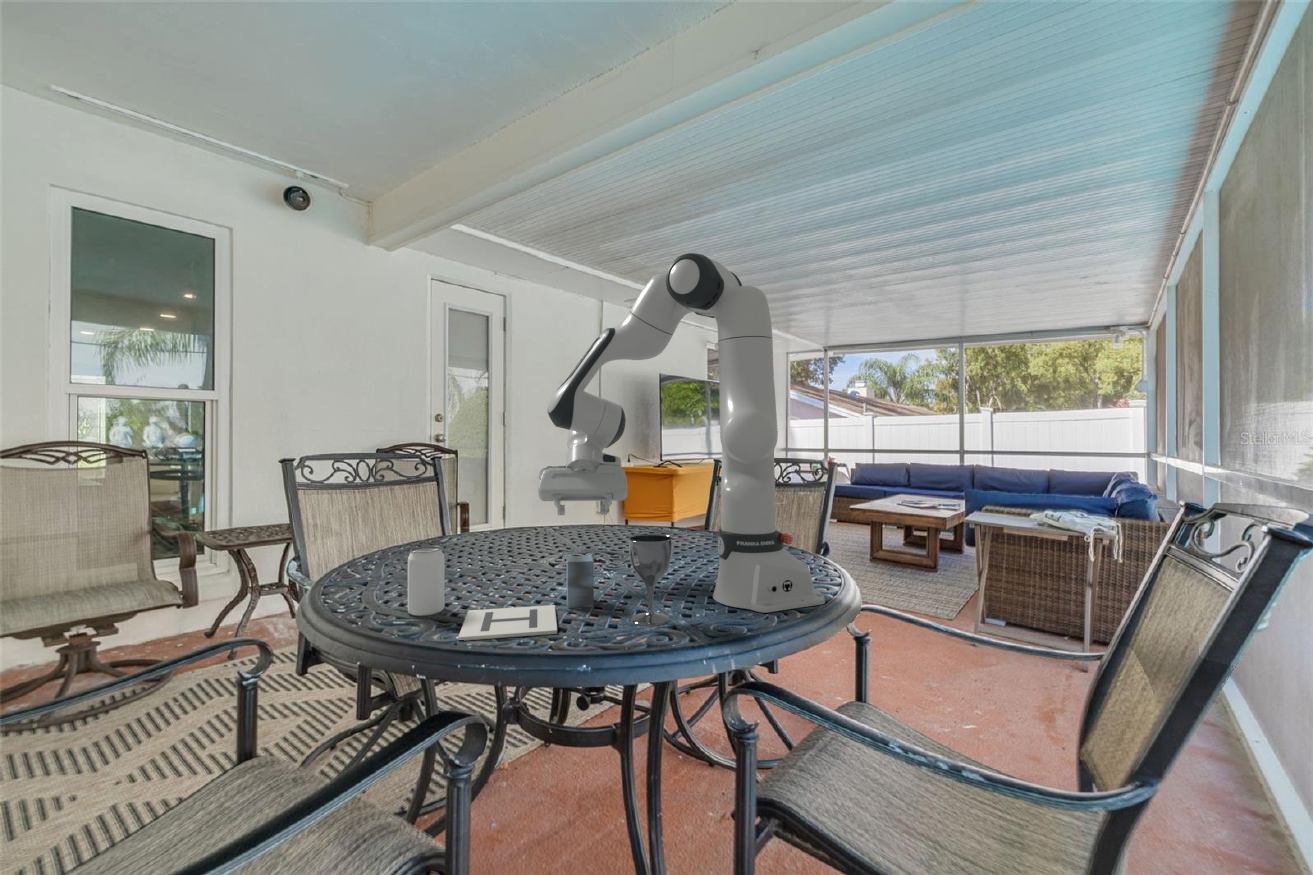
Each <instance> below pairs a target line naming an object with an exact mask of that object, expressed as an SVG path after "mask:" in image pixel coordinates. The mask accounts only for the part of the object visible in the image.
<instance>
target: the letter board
mask: <svg viewBox="0 0 1313 875" xmlns="http://www.w3.org/2000/svg"><path fill="white" fill-rule="evenodd" d="M556 615H557V614H556V605H555V604H550V605H547V604H546V605H534V606H532V605H531V606H517V607H515V606H514V607H503V608H487V609H485V608H484V609H472V610H471V609H470V610H467V613H466V616H465V618H464V620H463V623H462V626H461V629H460V632H459V634H458V637H457V641H458V640H464V641H476V640H487V639H488V640H489V639H500V638H501V639H504V638H514V637H515V638H516V637H527V636H528V637H529V636H543V635H556V634H558V625H557V616H556Z"/></svg>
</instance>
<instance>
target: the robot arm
mask: <svg viewBox="0 0 1313 875" xmlns="http://www.w3.org/2000/svg"><path fill="white" fill-rule="evenodd" d="M766 296H767V295H766V294H765V293H764V291H762V290H761V289H760V288H758V287H755V286H751V285H743V283H742V282H741V280H740V278H739V277H738V276H737V275H736V274H735V273H734V272H732V271H730V270H729V269H727V268H726V267H725V266H724V265H723V264H722V263H720V262H718V261H716V260H714V259H711V258H709V257H707V256H706V255H704V254H702V253H695V252H689V253H684V254H681V255H680V256H677V257H676V258H675V259H674V260H673V261H672V262H671V263H670V265H669V267H668V268H667V271H666V273H658V274H655V275H653V276H652V277H651V278H650V279H649V280H648V281H647V283H646V284H645V285H644V287H643V288H642V290H641V292H640V293H639V294H638V296H637V298H636V299H635V301H634V303H633V304H632V307H631V308H630V310H629V312H628V314H627V315H626V316H625V318H624V319H623V320H622V321H621V322H619V324H617V325H616V326H613V327H607V328H605V329H604V330H603V331H602V332H601V333H600V334H599V335H598V336H597V338H596V339H595V340H594V341H593V342H592V344H591V345H590V347H589V348H588V349H587V351H586V352H585V354H584V355H583V356H582V358H580V360H579V362H577V364H576V365H575V367H574V369H573V370H572V371H571V372H570V374H569V376H568V377H567V378H566V379H565V380H564V382H562V384H561V385H560V386H559V387H558V388H557V389H556V391H555V392H554V393H553V395H552V396H551V397H550V400H549V402H548V407H547V414H548V416H549V419H550V421H551V422H552V425H554V426H555V427H557V428H560V429H564V430H568V434H567V448H568V449H567V452H566V458H565V460H566V461H565V465H558V466H557V465H556V466H552V465H547V466H546V467H543V468H542V469H540V471H539V474H538V478H539V484H538V489H537V490H538V497H539V499H540V500H541V501H542V502H553V505H554V506H555V507H556V509H557V515H558V516H565V515H566V514H565V513H566V508H565V506H566V505H565V504H561V502H595V501H596V502H598V501H601V502H604V501H605V503H603V504H600V516H601V515H602V516H603V515H604V516H607V515H608V510H609V508H610V507H611V505H612V504H613V501H618V502H619V501H625V500H626V499H627V498H628V480H627V476H626V475H627V474H626V471H625V469H624V468H623V467H622V460H621V457H620V456H617V455H613V454H610V453H609V454H608V453H605V452H603V451H604V449H608V448H609V447H611V446H613V445H614V444H616V443H617V442H619V440H620V439H621V437H622V436H623V435H624V432H625V428H626V415H625V411H624V409H623V407H622V406H621V405H620V404H618V403H616V402H612V401H610V400H609V399H606V398H602V397H599V396H597V395H594V394H592V393H590V392H586V391H585V390H586V388H587V387H588V386H589V384H590V383H591V381H592V380H593V378H594V377H595V376H596V374H597V373H598V372H599V370H600V369H601V368H602V367H603V366H604V365H605V364H607V363H609V362H612V361H619V360H620V361H621V360H624V361H625V360H630V361H643V360H644V361H646V360H650V359H653V358H655V357H658V356H659V355H661V354H662V353H663V352H664V350H666V347H668V345H669V343H670V341H671V339H672V338H673V335H674V333H675V332H676V330H677V328H678V326H679V324H680V322H681V320H682V319H683V318H684V317H685V316H686V315H688V314H691V313H694V314H695V315H698V316H701V317H702V316H703V317H706V318H711V319H714V320H715V321H716V324H717V325H716V326H717V347H718V348H717V349H718V350H717V351H718V352H717V354H718V380H719V382H718V383H719V385H718V387H719V436H720V444H721V483H720V484H721V486H720V487H721V488H720V493H721V494H720V529H719V530H718V539H717V542H718V543H717V547H718V548H717V550H718V557H719V563H718V571H717V572H718V573H717V578H716V583H715V587H714V591H713V593H712V598H713V600H714V601H716V602H718V603H719V604H721V605H722V604H723V605H725V606H728V607H733V608H739V609H745V610H746V609H747V610H751V611H755V612H758V613H773V612H779V611H786V610H791V609H792V610H793V609H799V608H806V607H812V606H818V605H824V604H825V603H826V599H825V595H824V594H823V592H821V591H819V590H818V589H816V588H815V587H814V582H813V576H812V574H811V571H810V569H809V568H808V567H807V566H806V565H805V564H803V562H802V561H800V560H799V559H798V558H796V556H794V555H793V554H791V553H790V552H789V551H788V550H787V549H786V548H784V545H789V546H790V545H792V543H793V542H794V539H793V538H794V537H793V536H792V535H791V534H789V533H782V532H780V531H779V530H777V529H776V476H775V449H776V446H777V444H778V443H777V442H778V436H779V435H778V434H779V433H778V418H777V400H776V389H775V377H774V376H775V374H774V373H775V372H774V345H773V344H774V343H773V342H774V341H773V328H772V327H773V326H772V319H771V312H770V308H769V304H768V299H767V297H766Z"/></svg>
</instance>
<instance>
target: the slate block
mask: <svg viewBox="0 0 1313 875" xmlns="http://www.w3.org/2000/svg"><path fill="white" fill-rule="evenodd" d="M565 558H566V559H565V560H566V577H565V578H566V580H565V582H566V590H565V592H566V605H567V606H566V607H567V609H576V608H578V609H579V608H592V607H594V598H595V597H594V594H595V593H594V592H595V591H594V589H595V588H594V587H595V586H594V584H595V582H594V581H595V580H594V576H595V575H594V568H595V567H594V564H595V562H594V558H593V556H592V555H572V556H570V555H569V556H568V555H567V556H566V557H565Z"/></svg>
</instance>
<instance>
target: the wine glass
mask: <svg viewBox="0 0 1313 875" xmlns="http://www.w3.org/2000/svg"><path fill="white" fill-rule="evenodd" d="M628 552H629V553H628V554H629V558H630V559H629V560H630V564H631V567H632V569H633V571H634V572H635V573H636V574H637V576H638V577H639V578H640V580H641V581H642V582H643V583H644V585H645V588H646V592H647V602H648V609H647V612H641V613H638V614H634V615H633V616H631V619H630V621H631V622H632V623H633V624H636V625H638V626H645V627H654V626H656V627H657V626H661V625H665V624H667V623H669V622H670V621H671V618H670V617H669V615H667V614H666V613H665V614H664V613H660V612H654V610H653V608H654V606H653V605H654V603H653V601H654V593H655V589H656V585H657V583H658V582H659V580H660V579H661V578H662V577H663V576H664V575H665V573H666V572H667V571H668V569H669V567H670V564H671V560H672V555H673V554H672V553H673V536H671V535H669V534H663V533H639V534H638V533H637V534H633V535H630V536H629V537H628Z"/></svg>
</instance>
